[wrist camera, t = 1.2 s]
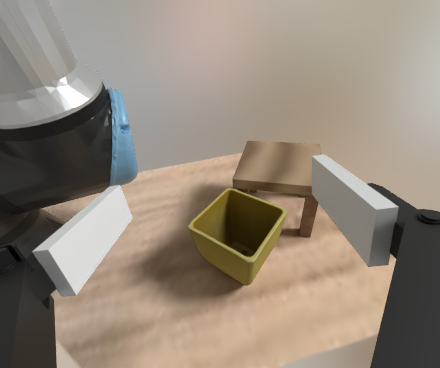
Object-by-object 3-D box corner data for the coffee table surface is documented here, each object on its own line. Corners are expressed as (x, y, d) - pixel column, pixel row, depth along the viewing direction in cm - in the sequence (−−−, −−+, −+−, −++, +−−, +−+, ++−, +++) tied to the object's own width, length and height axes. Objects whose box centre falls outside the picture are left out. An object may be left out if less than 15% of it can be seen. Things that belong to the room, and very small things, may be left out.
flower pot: (282, 254, 31) (289, 208, 26) (252, 307, 26) (252, 263, 20) (231, 229, 36) (228, 186, 30) (196, 270, 30) (185, 226, 25)
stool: (235, 228, 36) (232, 178, 30) (248, 185, 45) (247, 141, 39) (313, 240, 33) (327, 187, 27) (310, 191, 42) (319, 143, 36)
